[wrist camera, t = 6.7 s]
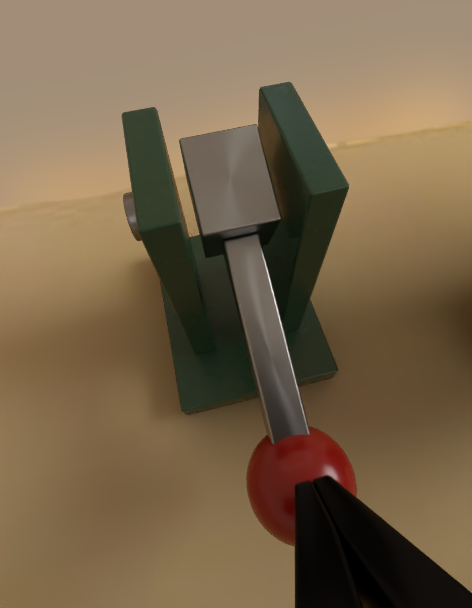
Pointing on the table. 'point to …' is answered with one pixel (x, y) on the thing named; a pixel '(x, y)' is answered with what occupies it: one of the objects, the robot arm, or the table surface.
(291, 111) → the bracket
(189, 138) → the lever
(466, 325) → the table surface
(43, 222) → the table surface
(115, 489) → the table surface
